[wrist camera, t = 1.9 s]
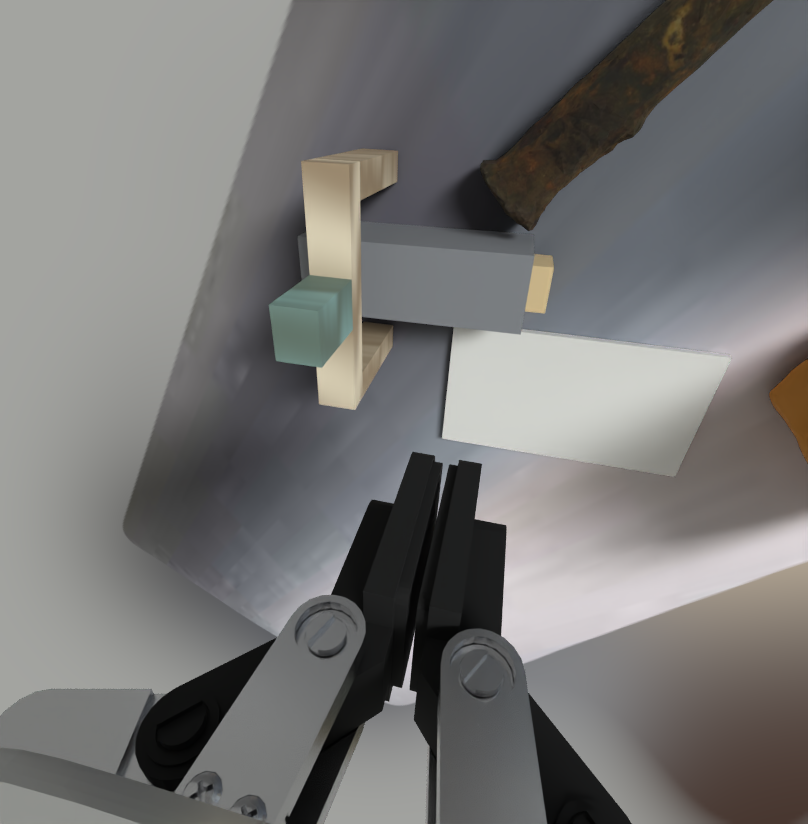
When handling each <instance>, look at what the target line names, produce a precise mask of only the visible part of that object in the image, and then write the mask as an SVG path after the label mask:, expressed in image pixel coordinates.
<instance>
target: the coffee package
mask: <svg viewBox="0 0 808 824" xmlns="http://www.w3.org/2000/svg"><path fill="white" fill-rule="evenodd" d="M769 397H770V400H771V402H772V404H773V406H774V408H775V409H776V410H777V412H778V413H779V414H780V415H781V417H782V418H783V419H784V420H785V422H786V423H787V425H788V427H789V428H790V430H791V431H792V433H793V434H794V436H795V437H796V439H797V442H798V444H799V447H800V449H801V452H802V454H803V456H804V458H805V459H806V461H807V463H808V359H807V360H805V361H804V362H802V363H801V364H799V365H798V366H797V367H795V368H794V369H793V370H792V371H791V372H790V373H789V374H788V375H787V376H786V377H785V378H784V379H783V380H782V381H781V382H780V383H779V384H778V385H777V386H776V387H775V388H774V389H772V390H771V392H770V393H769Z"/></svg>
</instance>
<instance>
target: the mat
mask: <svg viewBox="0 0 808 824" xmlns="http://www.w3.org/2000/svg"><path fill="white" fill-rule="evenodd" d="M731 359H732V357H731V356H730V355H729V354H722V353H714V352H706V351H698V350H689V349H681V348H673V347H665V346H657V345H649V344H641V343H632V342H624V341H616V340H608V339H600V338H592V337H583V336H575V335H567V334H559V333H551V332H543V331H535V330H526V329H522V330H521V335H519V334H510V333H501V332H492V331H484V330H475V329H466V328H457V327H454V329H453V338H452V348H451V358H450V367H449V377H448V386H447V396H446V405H445V415H444V424H443V434H442V439H448V440H454V441H460V442H466V443H472V444H478V445H484V446H490V447H496V448H502V449H508V450H514V451H520V452H526V453H532V454H538V455H544V456H550V457H556V458H562V459H568V460H574V461H580V462H586V463H592V464H598V465H604V466H610V467H616V468H622V469H628V470H634V471H640V472H646V473H652V474H658V475H664V476H670V477H675V476H676V474H677V472H678V470H679V468H680V466H681V463H682V461H683V459H684V457H685V455H686V453H687V451H688V449H689V447H690V445H691V443H692V440H693V438H694V436H695V434H696V432H697V430H698V428H699V426H700V424H701V422H702V420H703V418H704V415H705V413H706V411H707V409H708V407H709V405H710V403H711V401H712V399H713V397H714V395H715V392H716V390H717V388H718V386H719V384H720V382H721V380H722V378H723V376H724V374H725V372H726V370H727V367H728V365H729V363H730V361H731Z"/></svg>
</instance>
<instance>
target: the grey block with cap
mask: <svg viewBox="0 0 808 824" xmlns="http://www.w3.org/2000/svg"><path fill="white" fill-rule="evenodd" d="M297 238H298V249H299V259H300V269H301V280H303V279H305V278H306V277H308V276H309V275H310V273H309V259H308V246H307V232H305V233H303V234H301V235H299V236H297ZM553 270H554V264H553V258H552V256H551V255H538V254H535V252H534V234H524V233H510V232H497V231H483V230H470V229H456V228H443V227H429V226H416V225H403V224H389V223H376V222H362V221H361V299H362V317H368V318H377V319H386V320H395V321H403V322H412V323H421V324H430V325H439V326H448V327H457V328H466V329H475V330H484V331H492V332H501V333H510V334H519V335H521V330H522V325H523V319H524V313H525V311H527V312H536V313H545V310H546V305H547V300H548V295H549V290H550V285H551V280H552V275H553Z"/></svg>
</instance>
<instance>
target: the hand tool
mask: <svg viewBox="0 0 808 824" xmlns="http://www.w3.org/2000/svg"><path fill="white" fill-rule="evenodd" d="M772 1H773V0H666V1H665V2H664V3H662V4H661V5H660V6H659V7H658V8H657V9H656V10H655V11H654V12H653V13H652V14H651V15H650V16H649V17H648V18H647V19H646V20H644V21H643V22H642V23H641V24H640V25H639V26H638V27H637V28H636V29H635V30H634V31H633V32H632V33H631V34H630V35H629V36H628V37H626V38H625V39H624V40H623V41H622V42H621V43H620V44H619V45H618V46H617V47H616V48H615V49H614V50H613V51H612V52H611V53H610V54H608V55H607V56H606V57H605V58H604V59H603V60H602V61H601V62H600V63H599V64H598V65H597V66H596V67H595V68H593V70H592V71H591V72H590V73H589V74H588V75H586V76H585V77H584V78H583V79H581V80H580V81H579V82H578V83H577V84H576V85H574V86H573V87H572V88H571V90H570V91H569V92H568V93H567V94H566V95H565V96H564V97H563V98H562V99H561V100H560V101H559V102H558V103H557V104H556V105H555V106H554V107H553V108H552V109H551V110H550V111H549V112H548V113H547V114H546V115H545V116H544V117H542V118H541V119H540V120H539V121H538V122H536V123H535V124H534V125H533V126H532V127H531V128H530V129H529V130H528V131H527V133H526V134H525V135H524V136H523V137H522V138H521V139H520V140H519V141H518V142H517V143H516V144H515V145H514V146H513V147H512V148H511V149H510V150H509V151H508V152H507V153H506V154H505V155H504V156H502V157H500V158H498V159H497V160H484V161H483V162H482V163H481V165H480V170H481V174H482V176H483V178H484V181H485V183H486V184H487V186H488V187H489V189H490V190H491V192H492V193H493V195H494V196H495V198H496V200H497V201H498V203H499V204H500V205H501V207H502V208H503V210H504V212H505V213H506V214H507V215H508V216H510V217H511V218H512V219H513V220H514V221H515V222H516V223H517V224H520V225H521V226H523V227H524V228H525V229H527V230H528V231H530V230H533V228H534V227H535V226H536V224H537V222H538V220H539V217H540V215H541V214H542V212H543V211H544V210H545V208H546V206H547V205H548V204H549V203H550V202H551V200H552V199H553V198H554V196H555V195H556V194H557V193H558V191H560V190H561V189H562V188H564V187H565V186H567V185H568V184H569V183H570V182H571V181H572V180H573V179H574V178H575V177H577V176H578V174H579V173H580V172H582V171H584V170H585V169H586V168H588V167H589V166H590V165H592V164H593V163H595V162H596V161H597V160H598V159H599V158H601V157H602V156H604V155H606V154H608V153H609V152H611V151H612V150H613V149H614V148H615V146H616V145H617V144H618V143H620V142H622V141H624V140H627V139H630V138H632V137H633V136H634V135H635V134H636V133H637V132H638V131H639V130H640V129H641V128H642V126H643V124H644V122H645V119H646V118H647V116H648V115H649V114H650V112H651V111H652V110H653V109H654V107H655V106H656V105H657V104H658V103H659V102H660V101H661V100H663V99H664V98H665V97H666V96H667V95H668V94H669V93H670V92H671V91H672V90H674V89H675V88H676V87H677V86H678V85H679V84H680V83H682V82H683V81H684V80H685V79H686V78H688V77H689V76H690V75H691V74H692V73H693V72H695V71H696V70H697V69H698V68H699V67H700V66H701V65H703V64H704V63H705V62H706V61H707V60H708V59H709V58H710V57H711V56H712V55H713V54H714V53H715V52H716V51H717V50H718V49H720V48H721V47H722V46H723V45H724V44H725V43H726V42H727V41H728V40H729V39H730V38H731V37H732V36H734V35H735V34H736V33H737V32H738V31H739V30H740V29H741V28H742V27H743V26H744V25H745V24H747V23H748V22H749V21H750V20H751V19H752V18H753V17H754V16H755V15H757V14H758V13H759V12H760V11H761V10H763V9H764V8H765V7H766V6H767V5H768V4H770V3H771V2H772Z"/></svg>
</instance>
